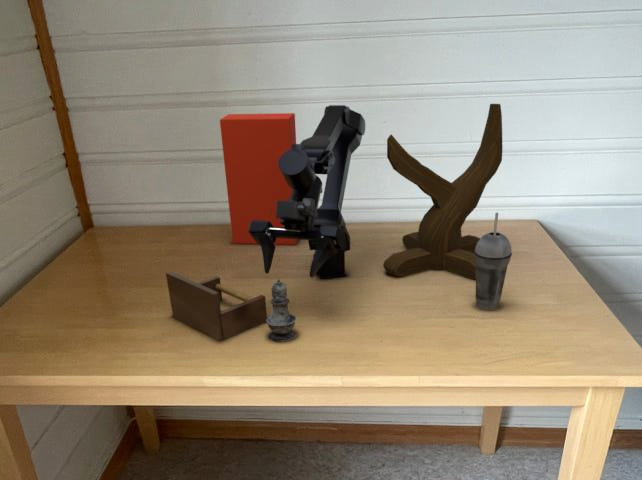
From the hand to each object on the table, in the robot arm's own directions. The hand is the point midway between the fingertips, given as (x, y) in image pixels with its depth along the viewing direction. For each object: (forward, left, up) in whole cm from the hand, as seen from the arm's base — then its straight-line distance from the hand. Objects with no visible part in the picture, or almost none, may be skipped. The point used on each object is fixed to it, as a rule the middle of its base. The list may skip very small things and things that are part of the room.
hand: (288, 274), depth 124 cm
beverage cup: (-41, +5, -11) cm, 42 cm away
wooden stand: (-41, -21, -11) cm, 47 cm away
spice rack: (+14, -7, -11) cm, 19 cm away
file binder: (-5, -52, -11) cm, 54 cm away
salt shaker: (+3, +5, -11) cm, 12 cm away
